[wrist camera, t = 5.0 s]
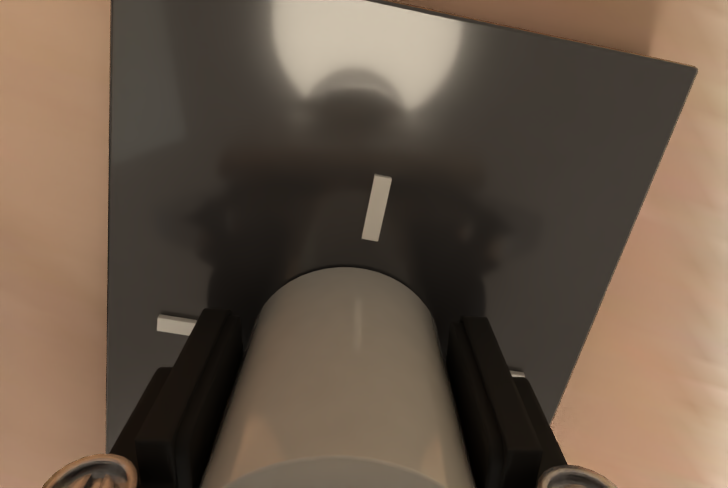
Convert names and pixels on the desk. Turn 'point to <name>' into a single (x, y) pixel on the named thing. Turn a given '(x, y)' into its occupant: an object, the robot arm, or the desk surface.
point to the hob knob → (341, 393)
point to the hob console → (369, 171)
